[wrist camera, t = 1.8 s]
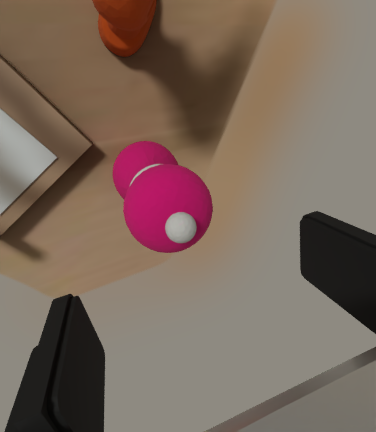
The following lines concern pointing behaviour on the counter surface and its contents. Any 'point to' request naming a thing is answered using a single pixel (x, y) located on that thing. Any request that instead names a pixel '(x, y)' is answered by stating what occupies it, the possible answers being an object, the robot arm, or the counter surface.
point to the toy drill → (124, 23)
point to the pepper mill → (161, 198)
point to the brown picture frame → (31, 144)
